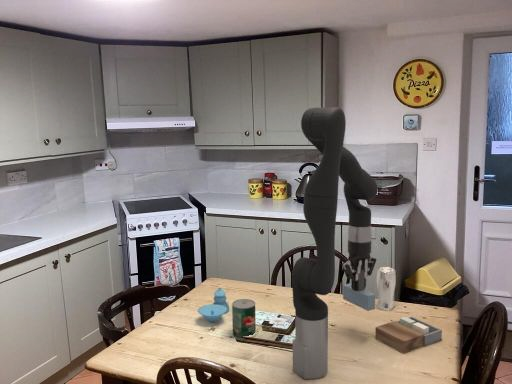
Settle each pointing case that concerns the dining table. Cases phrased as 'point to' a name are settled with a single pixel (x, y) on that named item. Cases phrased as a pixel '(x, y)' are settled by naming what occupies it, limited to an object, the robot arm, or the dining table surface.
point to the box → (433, 335)
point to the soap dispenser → (215, 307)
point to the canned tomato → (243, 318)
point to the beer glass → (386, 287)
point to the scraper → (359, 294)
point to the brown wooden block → (399, 336)
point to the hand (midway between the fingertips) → (358, 289)
